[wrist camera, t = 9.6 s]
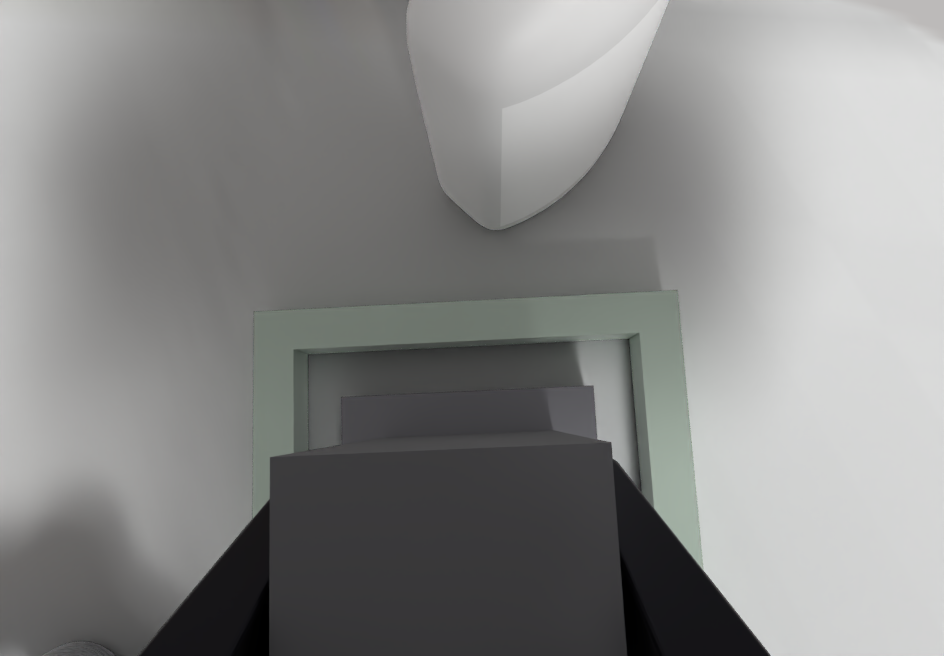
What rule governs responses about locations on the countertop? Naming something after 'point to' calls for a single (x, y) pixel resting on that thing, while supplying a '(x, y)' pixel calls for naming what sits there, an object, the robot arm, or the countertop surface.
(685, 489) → the socket frame
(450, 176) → the eye dropper bottle
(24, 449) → the countertop surface
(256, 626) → the robot arm
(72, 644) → the grey rod with hub
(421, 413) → the plug
